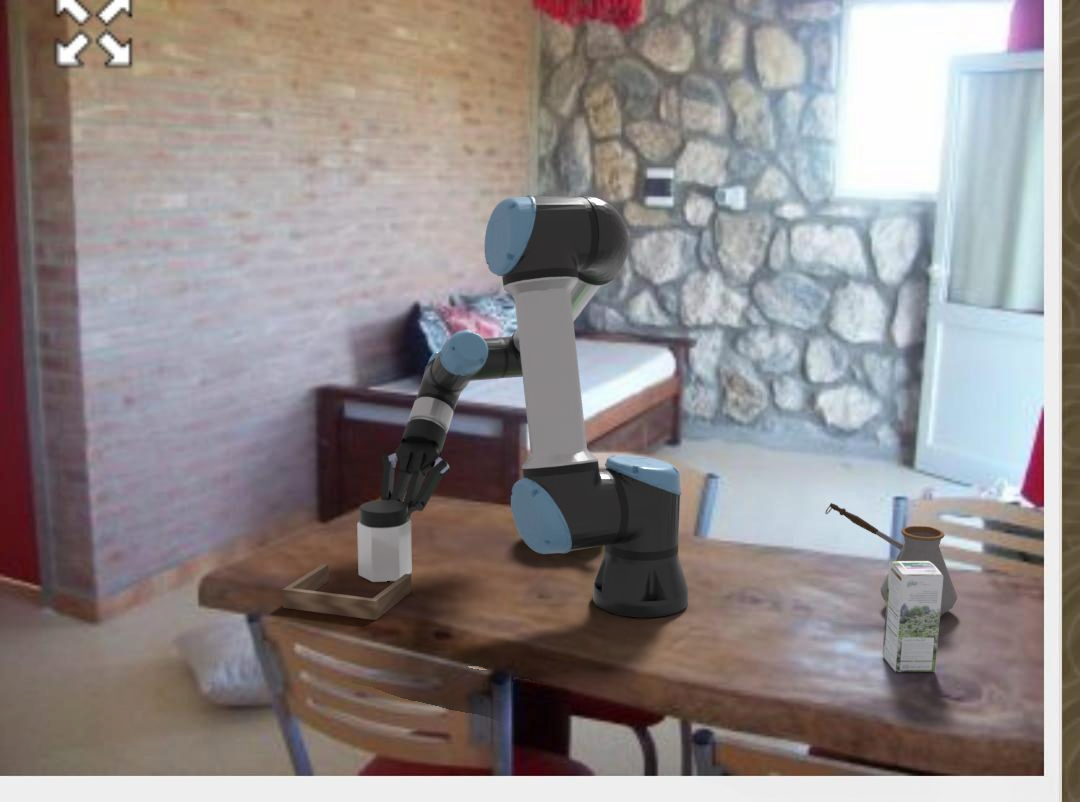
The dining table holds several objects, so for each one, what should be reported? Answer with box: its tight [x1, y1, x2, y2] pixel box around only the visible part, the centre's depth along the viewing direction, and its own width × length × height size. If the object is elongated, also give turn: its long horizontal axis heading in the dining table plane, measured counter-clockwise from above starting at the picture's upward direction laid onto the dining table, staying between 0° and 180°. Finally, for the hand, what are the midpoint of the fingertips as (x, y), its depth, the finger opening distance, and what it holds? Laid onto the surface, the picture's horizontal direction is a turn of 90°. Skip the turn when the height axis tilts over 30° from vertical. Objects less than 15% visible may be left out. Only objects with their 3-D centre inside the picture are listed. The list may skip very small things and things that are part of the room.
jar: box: [356, 499, 413, 583], centre depth 200 cm, size 9×8×12 cm
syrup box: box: [882, 560, 943, 673], centre depth 164 cm, size 6×6×14 cm
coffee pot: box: [824, 502, 958, 618], centre depth 188 cm, size 21×12×15 cm, turn 55°
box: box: [282, 563, 412, 621], centre depth 189 cm, size 16×13×3 cm
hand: (389, 542), depth 204 cm, fingers closed
